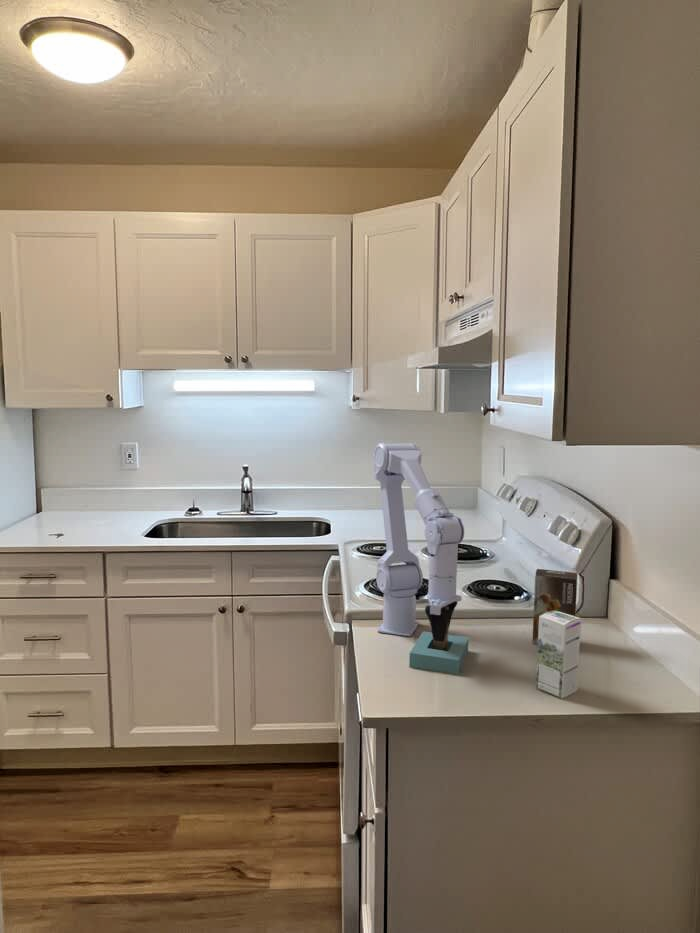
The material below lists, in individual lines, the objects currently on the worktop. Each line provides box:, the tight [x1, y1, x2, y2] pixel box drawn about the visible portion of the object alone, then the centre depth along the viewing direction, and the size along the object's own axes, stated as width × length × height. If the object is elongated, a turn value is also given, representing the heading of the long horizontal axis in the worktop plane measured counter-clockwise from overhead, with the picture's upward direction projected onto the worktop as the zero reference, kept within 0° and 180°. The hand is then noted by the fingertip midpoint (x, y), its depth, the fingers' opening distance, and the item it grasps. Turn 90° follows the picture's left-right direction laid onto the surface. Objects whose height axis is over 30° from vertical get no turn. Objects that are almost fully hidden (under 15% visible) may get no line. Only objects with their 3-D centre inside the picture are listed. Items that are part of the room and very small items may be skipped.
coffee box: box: [531, 568, 578, 646], centre depth 144 cm, size 9×6×16 cm
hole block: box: [408, 630, 470, 676], centre depth 134 cm, size 13×10×3 cm
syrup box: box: [535, 611, 582, 700], centre depth 120 cm, size 6×6×14 cm
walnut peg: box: [433, 606, 449, 651], centre depth 134 cm, size 3×3×10 cm
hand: (440, 637), depth 134 cm, fingers closed on walnut peg, 3 cm apart
